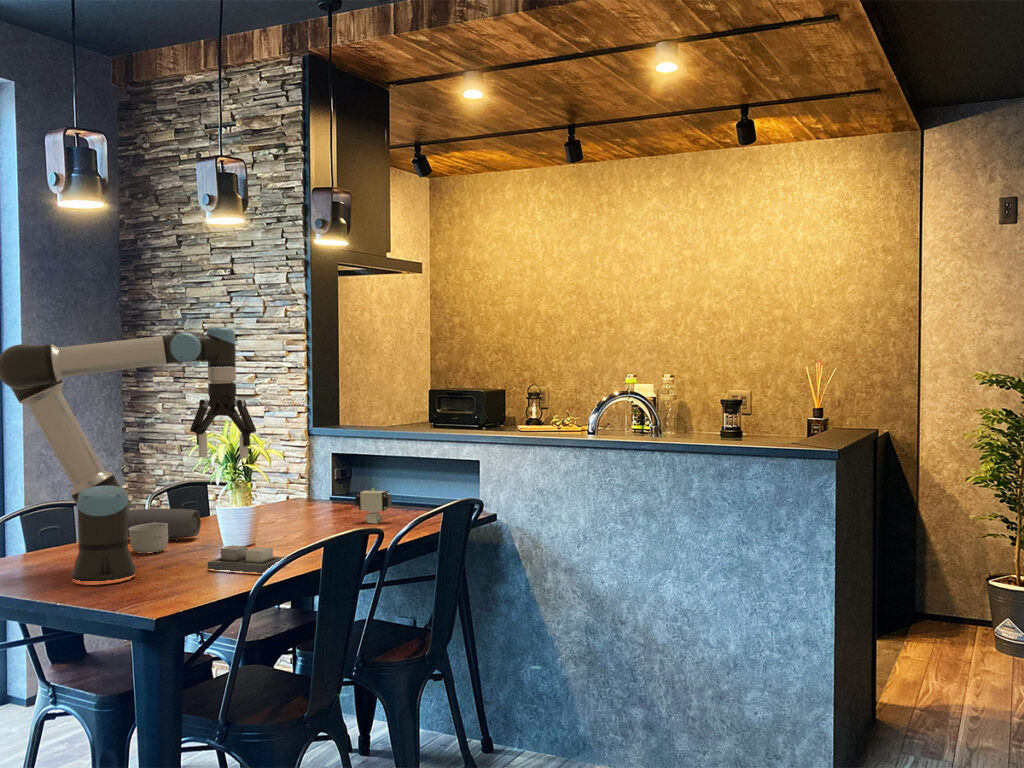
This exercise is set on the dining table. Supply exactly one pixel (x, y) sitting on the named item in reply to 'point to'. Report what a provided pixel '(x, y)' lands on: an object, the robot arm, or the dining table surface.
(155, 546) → the teacup
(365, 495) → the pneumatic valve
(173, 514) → the bluetooth speaker
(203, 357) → the robot arm
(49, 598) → the dining table surface
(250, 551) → the beige cube
